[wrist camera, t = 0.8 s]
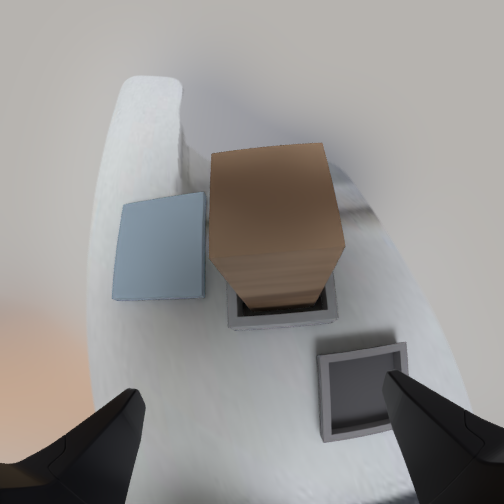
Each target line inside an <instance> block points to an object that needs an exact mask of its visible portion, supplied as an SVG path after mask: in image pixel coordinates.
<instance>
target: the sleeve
mask: <svg viewBox="0 0 504 504" xmlns="http://www.w3.org/2000/svg"><path fill="white" fill-rule="evenodd" d="M321 302H322V310H319V311H309V312H299V313H288V314H276V315H262V316H247V317H243V300H242V299H241V298H240V297H239V296H238V294H237V293H236V292H235V291H234V289H233V288H232V287H231V286H230V284H229V283H228V282H227V310H228V327H229V328H231V329H233V330H235V331H237V330H255V329H270V328H283V327H295V326H305V325H315V324H324V323H332V322H334V321H335V320H336V319H338V318H339V317H338V308H337V299H336V291H335V283H334V276H333V271H332V273H331V275H330V277H329V279H328V281H327V283H326V284H325V286H324V288H323V290H322V292H321Z"/></svg>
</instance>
